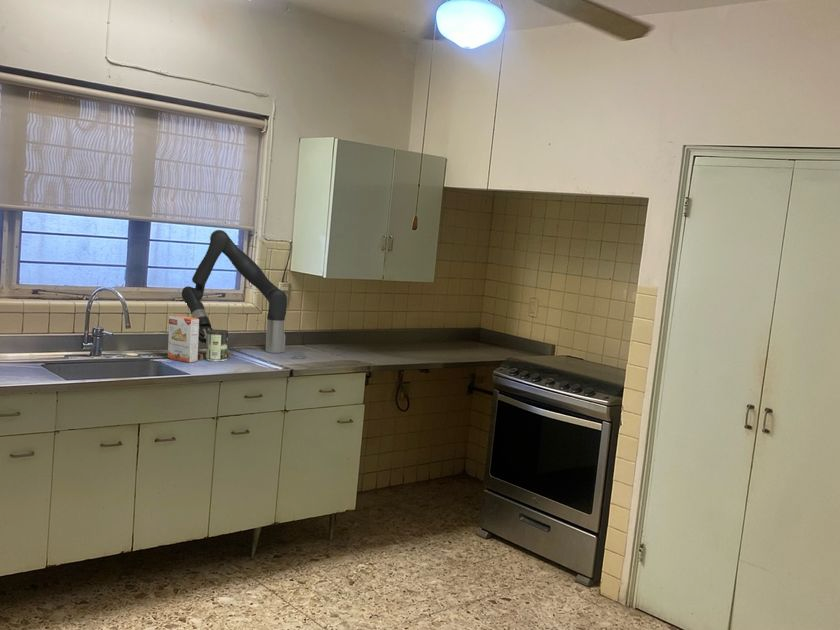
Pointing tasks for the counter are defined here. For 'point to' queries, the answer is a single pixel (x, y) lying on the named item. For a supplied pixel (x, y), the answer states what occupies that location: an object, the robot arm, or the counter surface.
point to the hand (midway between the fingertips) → (211, 348)
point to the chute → (202, 356)
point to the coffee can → (216, 345)
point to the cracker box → (183, 338)
